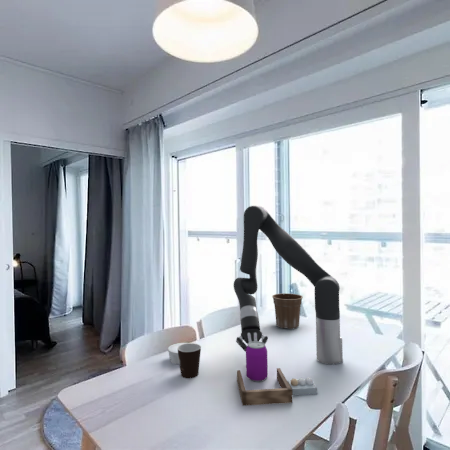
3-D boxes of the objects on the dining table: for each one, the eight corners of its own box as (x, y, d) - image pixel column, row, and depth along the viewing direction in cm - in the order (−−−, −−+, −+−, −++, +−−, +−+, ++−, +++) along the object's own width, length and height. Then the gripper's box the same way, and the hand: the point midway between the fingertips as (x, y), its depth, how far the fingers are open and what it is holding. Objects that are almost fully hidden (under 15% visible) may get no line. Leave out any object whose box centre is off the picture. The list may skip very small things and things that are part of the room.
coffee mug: (197, 380, 115) (197, 352, 115) (174, 379, 117) (174, 351, 117) (206, 366, 126) (205, 341, 126) (184, 365, 128) (184, 339, 128)
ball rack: (310, 384, 111) (310, 373, 111) (316, 393, 105) (316, 382, 105) (287, 386, 110) (287, 374, 110) (292, 395, 104) (292, 383, 104)
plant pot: (286, 319, 188) (285, 291, 188) (309, 326, 175) (308, 296, 175) (266, 325, 177) (266, 295, 178) (289, 332, 165) (288, 300, 165)
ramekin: (194, 366, 127) (194, 352, 127) (165, 366, 127) (165, 353, 127) (196, 354, 139) (196, 342, 139) (170, 355, 139) (170, 342, 139)
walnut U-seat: (280, 379, 115) (279, 368, 115) (292, 402, 100) (292, 389, 100) (236, 381, 114) (236, 370, 114) (242, 405, 98) (242, 392, 99)
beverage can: (263, 371, 121) (262, 339, 121) (270, 381, 114) (270, 346, 114) (243, 374, 119) (243, 341, 119) (250, 384, 112) (249, 349, 112)
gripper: (234, 315, 130) (237, 358, 118) (266, 314, 131) (273, 357, 119) (233, 324, 135) (236, 366, 123) (264, 323, 136) (270, 365, 124)
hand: (254, 362), depth 121 cm, fingers closed
